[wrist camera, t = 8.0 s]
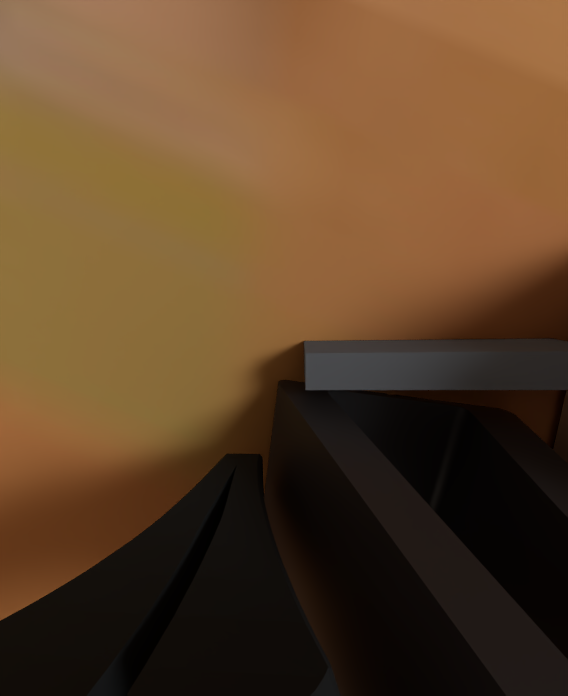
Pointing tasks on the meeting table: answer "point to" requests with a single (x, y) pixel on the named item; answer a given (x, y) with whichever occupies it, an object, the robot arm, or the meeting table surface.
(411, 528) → the phone stand
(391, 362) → the keeper
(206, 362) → the meeting table surface
